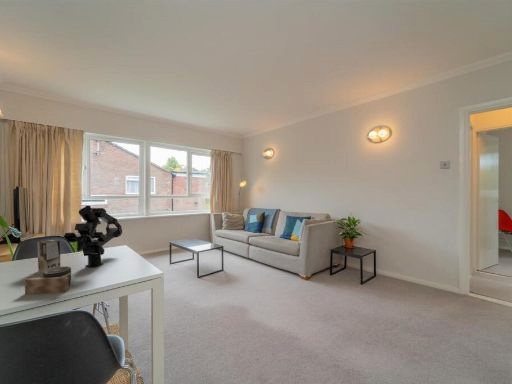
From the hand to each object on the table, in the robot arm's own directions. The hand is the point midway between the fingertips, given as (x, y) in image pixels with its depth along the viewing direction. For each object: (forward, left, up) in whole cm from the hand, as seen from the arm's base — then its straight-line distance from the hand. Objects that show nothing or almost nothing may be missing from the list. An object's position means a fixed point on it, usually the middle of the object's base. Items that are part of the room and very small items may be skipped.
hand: (78, 251), depth 122 cm
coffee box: (-21, -1, -12) cm, 24 cm away
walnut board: (+9, -19, -12) cm, 24 cm away
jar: (+6, -13, -12) cm, 19 cm away
